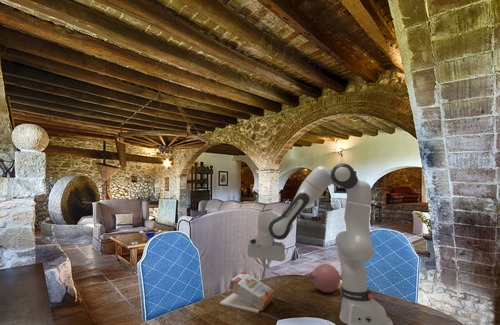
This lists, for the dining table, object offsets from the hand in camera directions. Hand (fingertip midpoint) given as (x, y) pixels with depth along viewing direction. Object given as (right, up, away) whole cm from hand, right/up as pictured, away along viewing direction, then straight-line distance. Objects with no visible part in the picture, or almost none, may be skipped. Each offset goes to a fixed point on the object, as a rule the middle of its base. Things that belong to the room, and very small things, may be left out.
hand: (266, 267), depth 144 cm
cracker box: (+2, -16, -2) cm, 16 cm away
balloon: (+34, -20, +17) cm, 43 cm away
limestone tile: (-10, -19, +4) cm, 22 cm away
